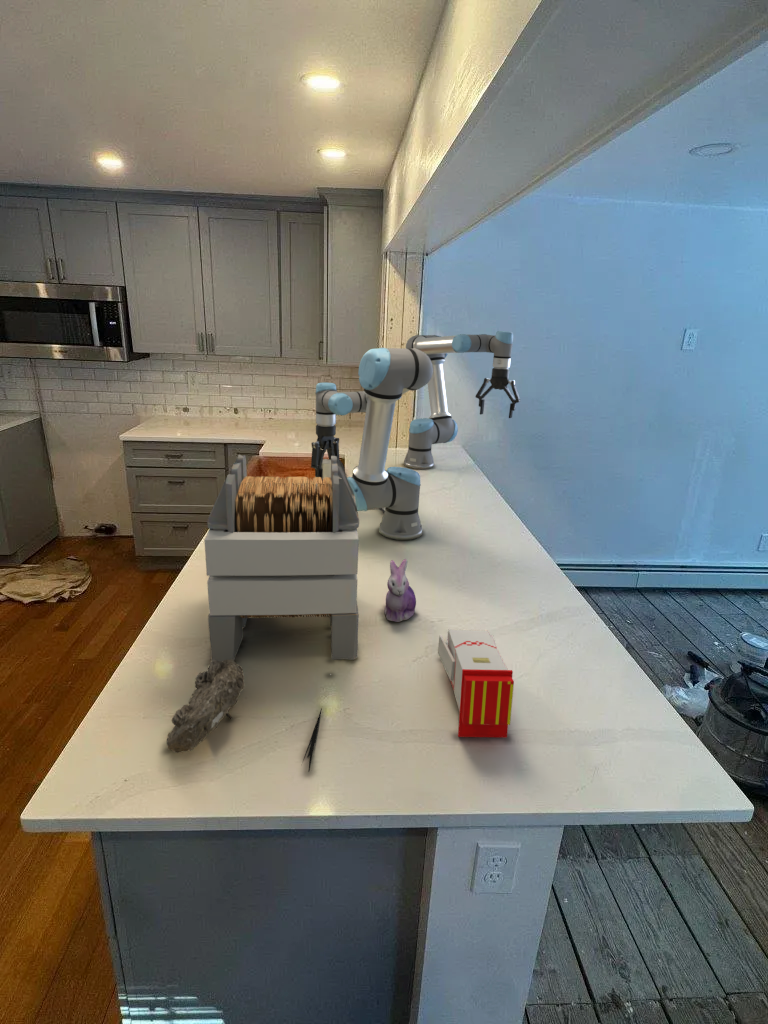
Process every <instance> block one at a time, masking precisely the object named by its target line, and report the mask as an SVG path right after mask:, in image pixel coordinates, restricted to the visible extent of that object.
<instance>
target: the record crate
mask: <svg viewBox="0 0 768 1024" xmlns="http://www.w3.org/2000/svg"><path fill="white" fill-rule="evenodd" d="M339 460H340V459H339ZM339 460H338V458H337V456H331V477H329V478H328V477H327V478H326V477H325V478H323V481H322V477H315V476H314V477H312V478H309V477H308V476H286V477H284V476H283V477H282V476H281V477H280V476H263V475H261V476H254V475H253V476H250V475H248V472H247V458H246V455H245V454H244V455H241V454H238V455H237V456H236V459H235V460H234V462H232V463H233V464H232V467H231V468H230V470H229V474H227V475H226V477H225V480H224V482H223V484H222V486H221V488H220V490H219V493H218V496H217V498H216V500H215V502H214V504H213V506H212V508H211V511H210V513H209V515H208V517H207V521H206V522H207V523H206V524H207V528H208V531H207V533H206V535H205V537H204V554H205V556H204V557H205V569H206V570H205V571H206V576H208V579H207V583H206V584H207V597H208V610H209V611H208V615H207V622H208V637H209V638H208V639H209V644H210V657H211V658H210V659H209V660H210V662H211V661H212V660H217V661H222V662H223V661H224V660H227V659H228V660H231V659H232V660H234V661H235V659H236V656H237V654H238V651H239V649H240V646H241V643H242V640H243V638H244V631H243V629H245V628H246V626H247V620H248V619H250V618H251V619H257V618H258V619H261V618H262V619H264V618H265V619H267V618H272V619H273V618H305V617H306V618H312V617H315V618H320V617H321V618H322V617H324V618H325V617H329V620H330V621H329V622H330V623H329V625H330V647H331V648H330V649H331V650H330V651H331V660H351V661H354V660H355V659H356V658H358V653H359V652H358V650H359V607H358V571H359V570H358V567H359V545H360V543H359V540H360V539H359V534H358V533H359V532H358V529H359V527H360V517H359V511H357V506H356V502H355V496H354V493H353V490H352V488H351V486H350V484H349V482H348V480H347V478H348V477H347V474H346V472H345V473H344V471H343V469H342V467H341V464H340V462H339ZM345 474H346V475H345ZM247 475H248V476H247Z"/></svg>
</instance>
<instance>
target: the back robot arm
mask: <svg viewBox="0 0 768 1024" xmlns="http://www.w3.org/2000/svg"><path fill="white" fill-rule="evenodd" d="M513 344H514V333H513V331H504V330H498V331H496V332H495V335H493V334H486V333H479V334H467V333H461V334H456V335H444V336H442V335H436V334H416V335H413V336H411V337H409V339H408V340H407V341H406V344H405V349H408V348H413V349H418V350H420V351H422V352H424V353H425V354H426V355H427V356H428V357H429V358H430V360H431V362H432V365H433V374H432V377H431V379H430V381H429V382H428V383H427V391H428V398H429V406H430V415H429V417H428V418H427V417H424V418H423V417H421V418H416V419H412V421H410V423H409V429H408V448H407V452H406V455H405V457H404V460H403V467H405V468H408V469H412V470H431V469H433V468H434V467H435V462H434V457H433V453H432V446H433V445H438V444H447V443H451V442H453V441H454V440H455V439H456V437H457V435H458V432H459V427H458V423H457V422H456V420H454V419H453V417H452V414H451V413H450V412H449V408H448V401H447V391H446V384H445V375H444V366H443V365H444V363H445V362H446V358H447V357H448V354H457V353H458V354H461V353H489V354H490V353H491V354H493V359H492V367H493V368H491V377H490V378H489V377H485V378H483V382H482V384H481V386H480V387H479V389H478V391H477V393H476V394H475V398H476V399H478V407H479V415H484V412H485V411H484V409H485V402H486V401H485V399H484V398H486V396H487V395H488V394H489V393H490V392H492V391H493V390H500V391H502V390H503V392H505V394H506V395H507V397H508V399H509V400H510V401H511V402H510V404H509V412H508V419H513V412H514V411H515V410H516V407H517V403H520V402H521V398H520V395H519V392H518V389H517V386H516V380H515V379H513V380H509V379H510V378H509V377H510V369H509V368H510V367H511V361H512V360H511V359H512V351H513ZM489 383H490V384H491V385H490V386H489V387H488V388H487V389H486V390H485V388H486V387H487V385H488V384H489ZM508 385H509V386H510V387H511V390H510V389H509V386H508ZM511 391H512V392H511Z"/></svg>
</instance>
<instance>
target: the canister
mask: <svg viewBox="0 0 768 1024" xmlns="http://www.w3.org/2000/svg"><path fill="white" fill-rule="evenodd" d="M321 469H323V471H322V481H323V478H325V477H326V478H327V477H328V478H329V477H331V460H330V459H329V458H323V462H322V466H321Z"/></svg>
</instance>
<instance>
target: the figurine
mask: <svg viewBox="0 0 768 1024" xmlns="http://www.w3.org/2000/svg"><path fill="white" fill-rule="evenodd" d="M407 567H408V559H406V558H404V559H403V560H402V561H401V563H400V565H399V566H398V565H397V563H396V562H395V561H394V560H393V559H391V560H390V561H389V570H390V576H389V578H388V579H387V589H388V591H387V592H386V594H385V595H386V596H385V607H384V615H385V616H386V620H387V621H391V622H395V623H400V622H402V621H406V620H409V619H410V618H411V617H413V616H414V615H415V610H416V606H417V597H416V593H415V591H414V590H413V587H411V586H410V582H409V579H408V577H407V574H406V571H407Z"/></svg>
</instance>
